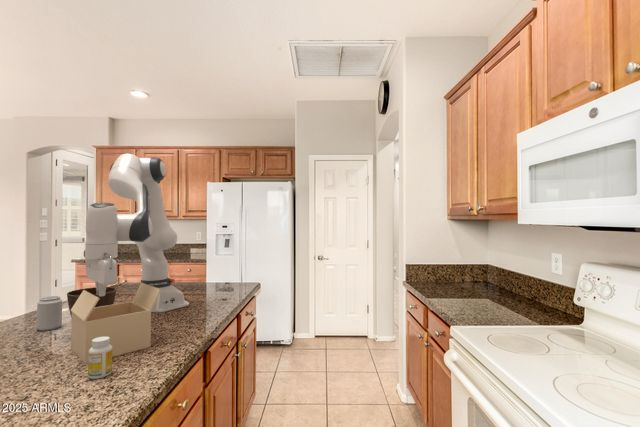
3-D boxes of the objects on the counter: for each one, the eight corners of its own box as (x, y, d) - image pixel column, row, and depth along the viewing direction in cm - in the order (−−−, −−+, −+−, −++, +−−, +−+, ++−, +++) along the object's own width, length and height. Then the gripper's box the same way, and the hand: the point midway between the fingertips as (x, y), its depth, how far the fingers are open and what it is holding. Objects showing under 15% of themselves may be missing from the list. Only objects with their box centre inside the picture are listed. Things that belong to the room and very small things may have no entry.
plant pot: (125, 330, 126) (125, 288, 126) (88, 344, 112) (89, 296, 112) (94, 326, 130) (95, 286, 130) (55, 340, 116) (56, 294, 116)
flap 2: (132, 301, 121) (133, 301, 122) (150, 309, 110) (151, 309, 110) (141, 282, 124) (142, 283, 124) (159, 288, 112) (161, 289, 113)
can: (47, 332, 124) (48, 299, 124) (31, 330, 125) (32, 299, 126) (66, 326, 131) (67, 295, 132) (51, 324, 133) (51, 294, 133)
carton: (131, 334, 121) (131, 301, 122) (150, 346, 109) (151, 310, 110) (70, 348, 108) (71, 311, 109) (85, 364, 96) (85, 322, 96)
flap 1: (85, 321, 97) (83, 320, 96) (72, 310, 108) (70, 310, 108) (99, 298, 99) (98, 297, 99) (85, 290, 111) (83, 289, 111)
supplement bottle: (91, 381, 86) (92, 344, 86) (85, 375, 89) (85, 339, 89) (114, 374, 90) (115, 338, 90) (107, 368, 93) (108, 334, 93)
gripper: (123, 253, 103) (122, 298, 102) (103, 250, 116) (103, 289, 116) (99, 255, 98) (98, 302, 98) (82, 251, 112) (81, 292, 111)
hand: (100, 295), depth 107 cm, fingers closed
